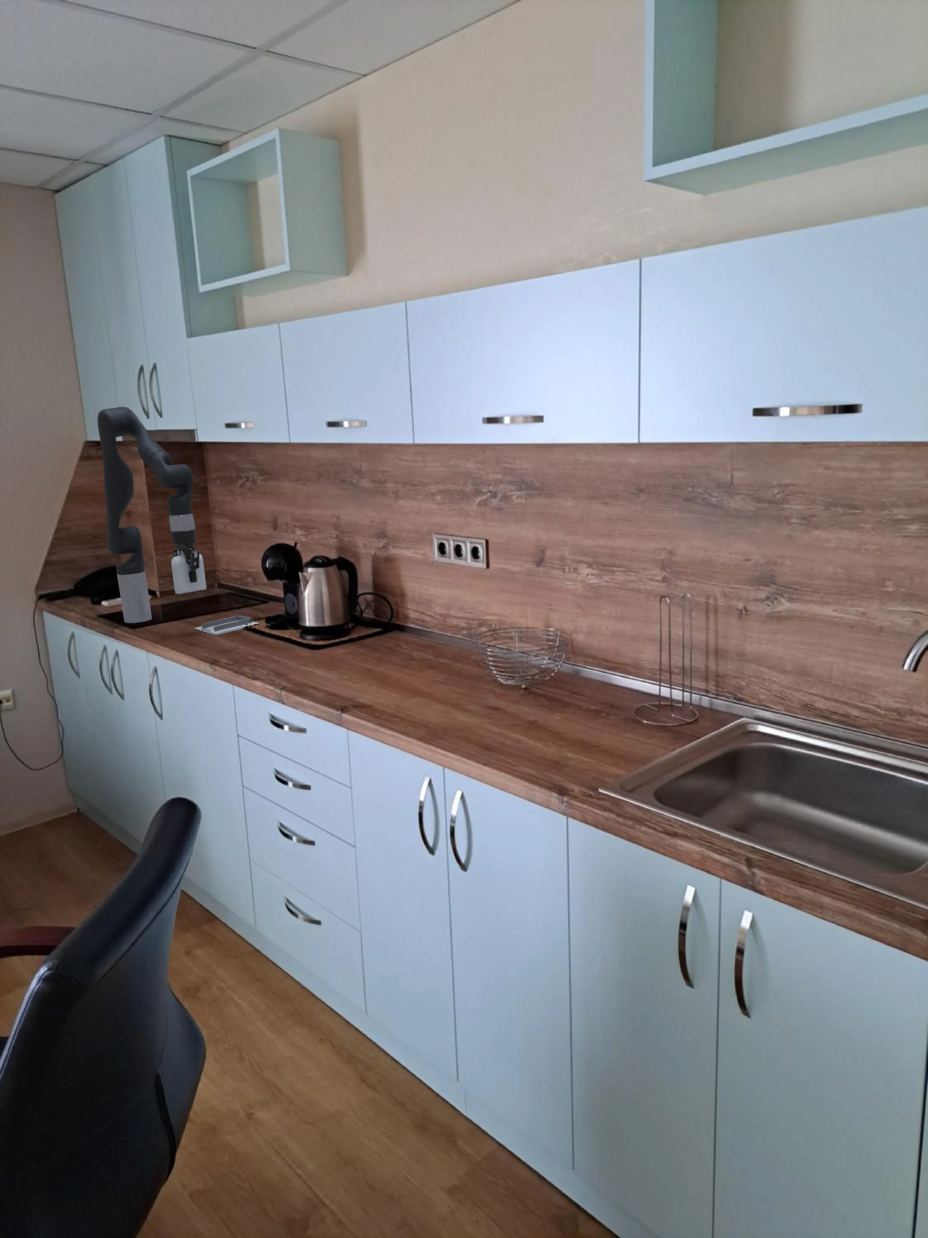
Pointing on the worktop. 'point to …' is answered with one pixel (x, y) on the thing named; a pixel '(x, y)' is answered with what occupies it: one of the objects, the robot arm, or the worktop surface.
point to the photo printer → (187, 576)
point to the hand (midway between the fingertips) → (189, 581)
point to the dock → (226, 625)
